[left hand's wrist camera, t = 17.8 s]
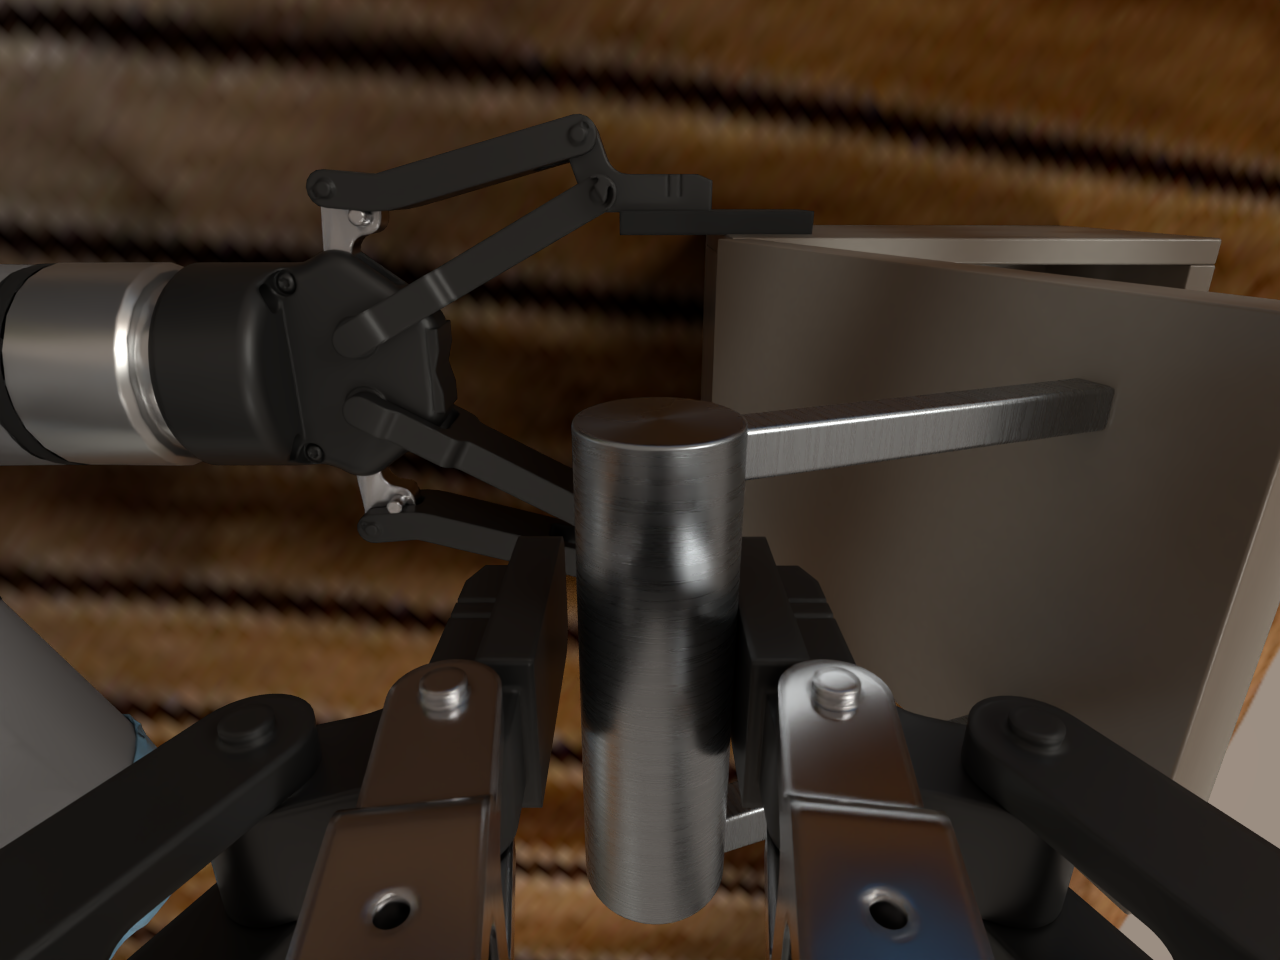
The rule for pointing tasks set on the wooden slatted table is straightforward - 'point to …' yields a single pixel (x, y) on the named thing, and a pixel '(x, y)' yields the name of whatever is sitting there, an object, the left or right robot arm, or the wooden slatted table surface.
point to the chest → (999, 256)
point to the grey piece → (924, 525)
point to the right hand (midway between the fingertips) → (793, 365)
